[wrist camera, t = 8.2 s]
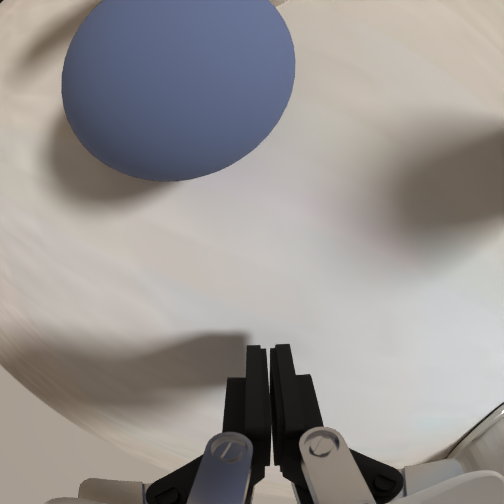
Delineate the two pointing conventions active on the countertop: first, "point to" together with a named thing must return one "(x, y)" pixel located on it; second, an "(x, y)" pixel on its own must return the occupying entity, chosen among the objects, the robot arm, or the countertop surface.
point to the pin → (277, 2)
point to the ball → (177, 83)
